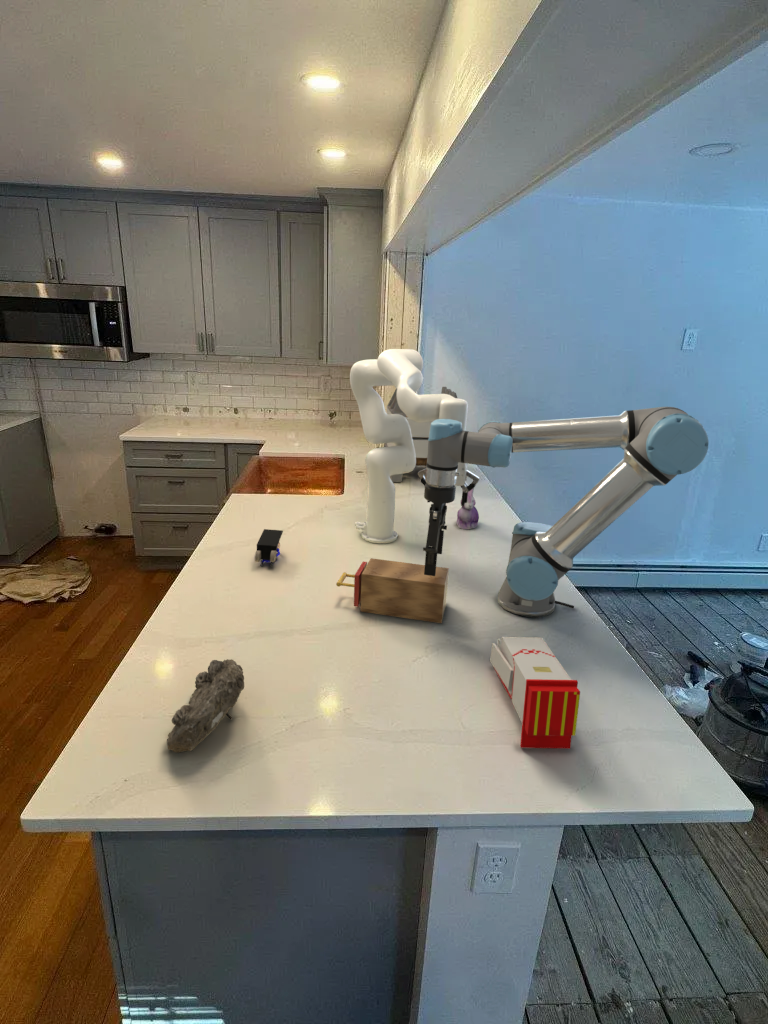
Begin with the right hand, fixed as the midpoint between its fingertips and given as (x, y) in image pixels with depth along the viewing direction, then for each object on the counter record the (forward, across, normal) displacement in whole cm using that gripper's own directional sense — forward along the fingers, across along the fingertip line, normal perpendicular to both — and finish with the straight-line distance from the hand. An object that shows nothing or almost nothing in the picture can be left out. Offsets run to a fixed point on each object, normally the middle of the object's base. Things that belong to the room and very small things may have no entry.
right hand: (433, 563), depth 145 cm
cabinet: (+14, 0, +7) cm, 16 cm away
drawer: (+13, 0, +12) cm, 18 cm away
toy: (+14, -31, -24) cm, 41 cm away
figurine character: (+14, +18, +52) cm, 57 cm away
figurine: (+14, +67, -5) cm, 69 cm away
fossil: (+14, -52, +35) cm, 64 cm away
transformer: (+14, +132, +23) cm, 134 cm away
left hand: (-9, +22, 0) cm, 24 cm away
